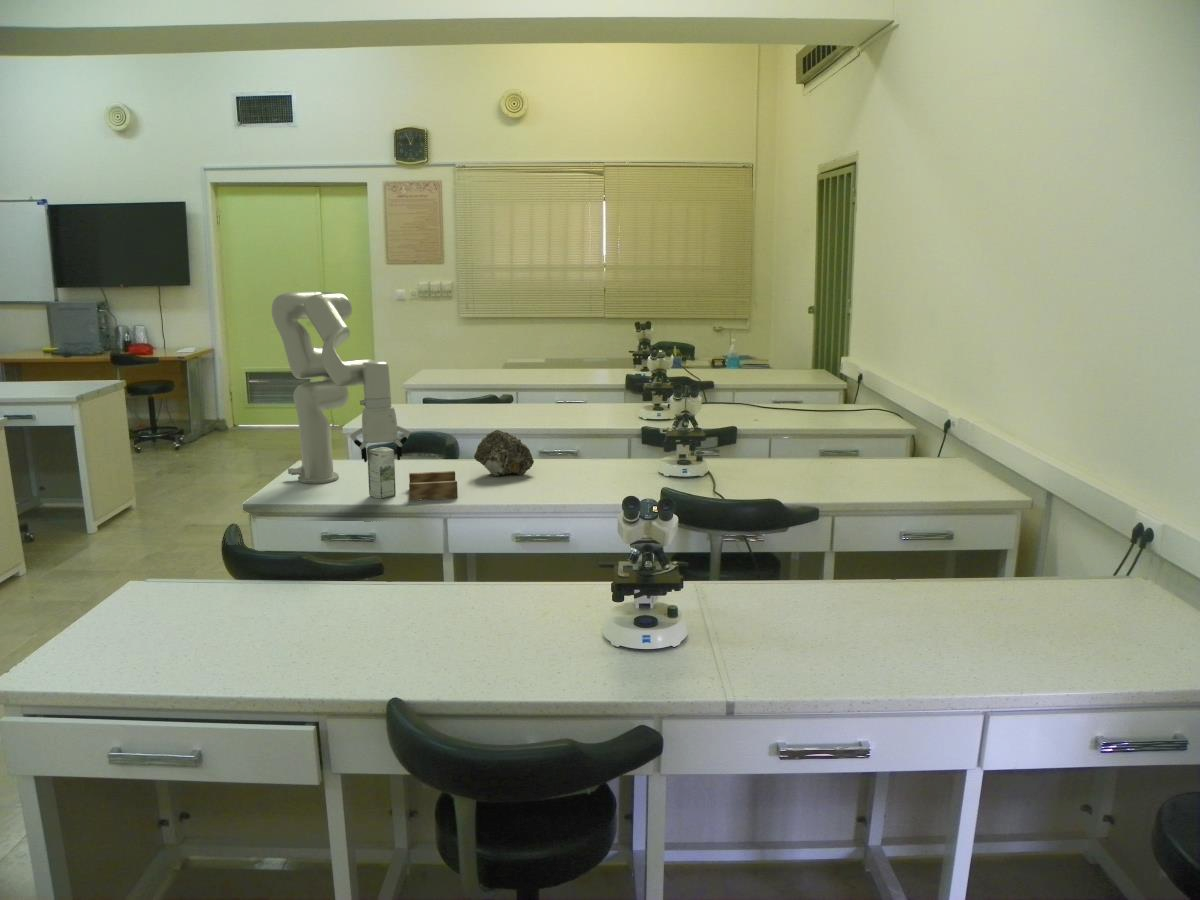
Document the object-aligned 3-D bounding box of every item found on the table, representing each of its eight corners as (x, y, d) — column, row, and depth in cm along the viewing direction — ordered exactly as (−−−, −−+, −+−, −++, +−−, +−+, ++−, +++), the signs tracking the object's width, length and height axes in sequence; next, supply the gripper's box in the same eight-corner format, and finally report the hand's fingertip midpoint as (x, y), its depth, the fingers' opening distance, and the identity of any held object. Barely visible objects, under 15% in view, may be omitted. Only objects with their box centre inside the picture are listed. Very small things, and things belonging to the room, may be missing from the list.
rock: (495, 428, 290) (499, 411, 304) (466, 459, 294) (471, 441, 308) (539, 463, 295) (540, 445, 309) (510, 493, 299) (513, 474, 313)
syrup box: (384, 492, 278) (381, 446, 275) (396, 495, 274) (394, 448, 271) (369, 496, 274) (366, 449, 271) (381, 499, 270) (378, 452, 267)
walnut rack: (409, 500, 269) (409, 484, 268) (409, 488, 282) (409, 473, 281) (457, 498, 272) (457, 481, 271) (455, 486, 285) (454, 470, 284)
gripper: (347, 406, 263) (351, 464, 266) (408, 403, 266) (411, 460, 269) (348, 403, 270) (353, 459, 273) (408, 400, 273) (411, 456, 276)
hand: (382, 460), depth 271 cm, fingers open, 9 cm apart
